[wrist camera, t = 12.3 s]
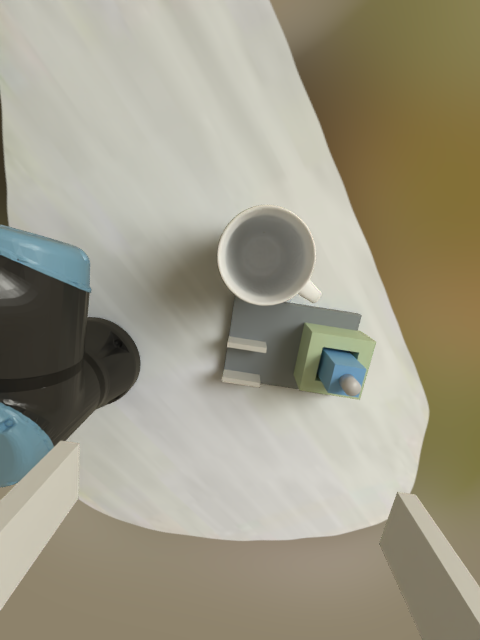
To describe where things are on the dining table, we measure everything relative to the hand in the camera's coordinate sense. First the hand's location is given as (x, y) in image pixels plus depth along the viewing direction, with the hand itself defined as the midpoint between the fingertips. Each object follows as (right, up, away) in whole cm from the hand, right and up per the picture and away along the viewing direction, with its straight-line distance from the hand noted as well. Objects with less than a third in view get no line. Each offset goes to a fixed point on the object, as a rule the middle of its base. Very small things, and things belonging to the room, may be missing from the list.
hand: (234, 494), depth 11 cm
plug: (+14, +2, +33) cm, 36 cm away
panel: (+8, +3, +35) cm, 36 cm away
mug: (+4, +17, +32) cm, 36 cm away
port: (+14, +2, +33) cm, 36 cm away
